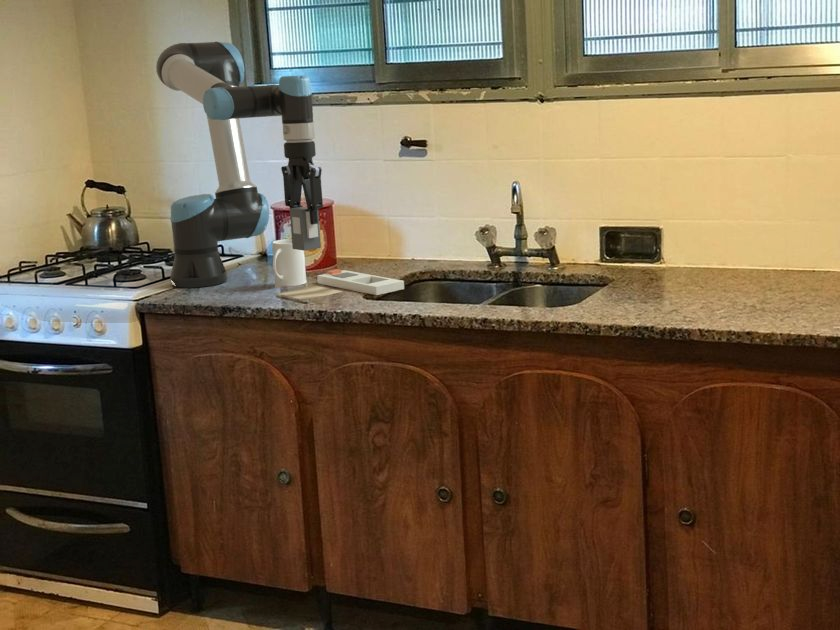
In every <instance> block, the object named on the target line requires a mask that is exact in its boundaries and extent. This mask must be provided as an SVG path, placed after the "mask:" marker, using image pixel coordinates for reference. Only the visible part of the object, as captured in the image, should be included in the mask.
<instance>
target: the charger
mask: <svg viewBox="0 0 840 630" xmlns="http://www.w3.org/2000/svg"><path fill="white" fill-rule="evenodd" d="M306 209H308V208H307V205H305V206H303V207H297V208H290V207H289V220H290V230H291V231H290V232H291V233H290V234H291V239H292V248H293V249H297V250H303V251H304V252H305V251H311V250H316V249H321V248H322V246H321V245H322V244H321V243H322V242H321V232H320V231H321V229H320V215H319V209H318V210H317V216H318V224H317V226H318V237H314V238H307V224H306V211H305V210H306Z"/></svg>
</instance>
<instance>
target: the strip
mask: <svg viewBox="0 0 840 630" xmlns="http://www.w3.org/2000/svg"><path fill="white" fill-rule="evenodd" d="M315 278H316V280H317V284H318V285H319V284H320V285H324V286H330V287H335V288H340V289H344V290H349V291H354V292H358V293H359V292H360V293H363V294H369V295H375V296H379V295H383V294H388V293H393V292H397V291H401V290H405V280H402V279H396V278H389V277H384V276H379V275H373V274H368V273H362V272H357V271H351V270H345V269H344V270H342V269H337V268H335V269H330V270H327V273H323V274H319V275H316V277H315Z"/></svg>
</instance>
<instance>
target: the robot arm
mask: <svg viewBox="0 0 840 630" xmlns="http://www.w3.org/2000/svg"><path fill="white" fill-rule="evenodd" d="M244 63H245V62H244V59H243V57H242V55H241V53H240V51H239V49H238V48H237V47H236V46H235V45H234V44H232V43H229V42H221V41H209V42H208V41H207V42H180V43H174V44H172V45H170V46H168V47H167V48H166V49H164V50H163V51H162V52H161V53H160V54H159V55H158V58H157V60H156V67H155V69H156V74H157V77H158V79H159V80H160V81H161V83H162V84H163V85H164V86H166V87H167V88H169V89H171V90H172V91H179V92H180V91H181V92H183V93H184V94H186V95H187V96H189V97H191V98H192V99H194V100H195V101H197V102H198V103H200V104H202V106H203V110H204V113H205V114H206V119H207V123H208V124H207V125H208V130H209V131H208V132H209V135H210V141H211V147H212V152H213V153H212V154H213V159H214V164H215V170H216V174H217V181H218V188H217V189H216V191H215V192H214V196H215V197H214V196H213V194H211V193H205V194H204V193H203V194H196V195H191V196H186V197H183V198H179V199H177V200H175V201H174V202H172V204H171V206H170V222H171V231H172V240H173V250H174V251H173V252H174V259H173V263H172V264H173V265H172V267H171V271H170V272H171V273H170V281H171V280H172V281H173V282H174V283H175V285H176V286H177V287H176V288H185V289H186V288H189V289H190V288H204V287H210V286H211V287H212V286H217V285H219V284H220V285H221V284H223V283H226V282H227V281H228V273H227V270H226V268H225V265H224V263H223V261H222V258H221V256H220V253H219V246H218V243H219V242H223V241H231V240H237V239H249V238H252V237H257V236H261V235H262V234H263V233H265V231H266V229H267V227H268V224H269V220H270V219H269V218H270V206H269V202H268V200H267V197H266V196H265V195H264V194H263V193H260V192H258V187H257V185H256V184H254V183H253V182H252V181H251V179H250V171H249V166H248V161H247V155H246V149H245V144H244V139H243V132H242V127H241V123H240V122H241V121H240V119H250V118H265V117H267V118H268V117H280V116H281V124H282V135H283V140H284V141H286V142H284V143H283V153H284V158H285V159H288V163H287V165H285V166H284V165H283V166H281V168H280V170H281V174H282V177H283V178H282V179H283V193H284V194H283V196H284V205H285V207H289V209H290V208H297V207H304V206H303V205H301V203H302V201H301V200H302V190H303V194H304V199H305V204H306V206H307V208H308V209H306V210H305V211H306V224H307V238H314V237H318V226H317V224H318V216H317V210H318V211H319V210H320V209H322V208H323V207H324V205H323V204H324V203H323V191H322V167H320V166H318V167H316V166H315V163H314V161H313V158H314V157H316V154H317V153H316V142H315V141H313V139H315V121H314V112H313V111H314V110H313V90H312V87H311V85H312V83H311V79H310V77H309V76H308V75H305V74H304V75H303V74H302V75H285V76H284V75H283V76H280V78H279V79H278V84H266V85H265V84H264V85H251V86H247V85H245V86H244V85H243V86H240V85H241V84H242V83H243V81H244V80H245V64H244Z"/></svg>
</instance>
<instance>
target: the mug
mask: <svg viewBox="0 0 840 630" xmlns="http://www.w3.org/2000/svg"><path fill="white" fill-rule="evenodd" d="M272 255H273V259H272V270H273V273H274V282H275V283H274V288H275V289H278V288H283V287H293V286H294V287H295V286H301V285H303V284H306V283H307V282H308V281H307V275H306V261H305V259H306V258H305V251H303V250H297V249H293V248H292V238H286V239H277V240H274V241H272Z"/></svg>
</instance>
